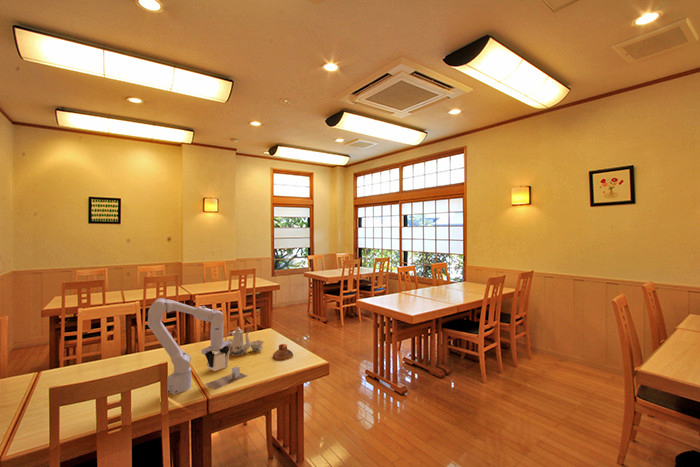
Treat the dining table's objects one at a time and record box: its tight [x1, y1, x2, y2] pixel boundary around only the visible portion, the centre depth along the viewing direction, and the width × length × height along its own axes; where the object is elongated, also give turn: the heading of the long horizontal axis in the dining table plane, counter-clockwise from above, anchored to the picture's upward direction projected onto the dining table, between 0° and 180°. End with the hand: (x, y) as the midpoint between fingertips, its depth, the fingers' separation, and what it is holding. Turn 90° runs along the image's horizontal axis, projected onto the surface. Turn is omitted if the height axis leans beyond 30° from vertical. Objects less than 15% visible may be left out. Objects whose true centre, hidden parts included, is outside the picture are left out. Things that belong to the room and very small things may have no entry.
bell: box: [272, 343, 294, 361], centre depth 190 cm, size 12×12×7 cm
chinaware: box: [223, 326, 265, 357], centre depth 199 cm, size 28×17×17 cm, turn 84°
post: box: [231, 365, 241, 379], centre depth 159 cm, size 3×3×5 cm
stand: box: [204, 372, 248, 390], centre depth 156 cm, size 18×9×1 cm, turn 145°
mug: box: [206, 349, 231, 370], centre depth 171 cm, size 8×13×10 cm, turn 149°
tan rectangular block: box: [207, 351, 226, 372], centre depth 154 cm, size 5×5×7 cm
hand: (216, 364), depth 154 cm, fingers closed on tan rectangular block, 5 cm apart
